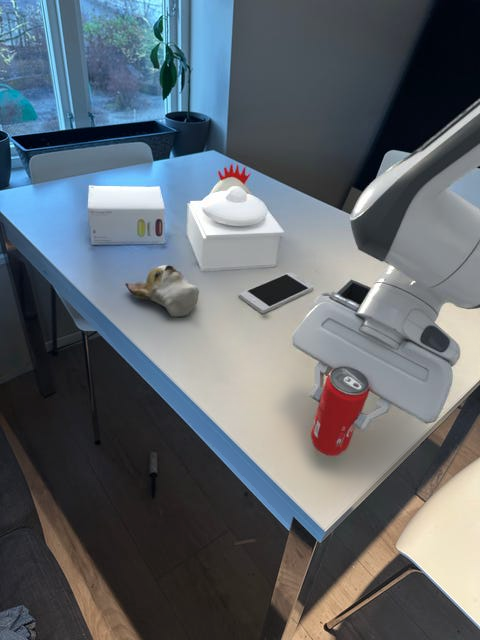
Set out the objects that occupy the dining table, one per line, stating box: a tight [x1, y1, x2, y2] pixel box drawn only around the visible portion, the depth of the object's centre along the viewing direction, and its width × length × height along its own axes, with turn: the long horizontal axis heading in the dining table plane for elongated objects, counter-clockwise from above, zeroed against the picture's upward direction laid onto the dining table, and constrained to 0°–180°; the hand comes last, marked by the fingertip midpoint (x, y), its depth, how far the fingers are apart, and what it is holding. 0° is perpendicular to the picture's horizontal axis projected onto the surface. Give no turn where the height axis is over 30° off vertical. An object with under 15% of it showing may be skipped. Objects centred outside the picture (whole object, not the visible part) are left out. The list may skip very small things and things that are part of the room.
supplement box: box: [87, 184, 166, 246], centre depth 106 cm, size 17×13×9 cm
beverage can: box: [310, 366, 370, 457], centre depth 57 cm, size 5×5×12 cm
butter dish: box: [186, 187, 285, 272], centre depth 102 cm, size 18×18×16 cm
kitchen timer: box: [209, 163, 253, 195], centre depth 115 cm, size 14×14×15 cm
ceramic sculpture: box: [124, 264, 200, 318], centre depth 85 cm, size 11×9×15 cm
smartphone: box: [239, 271, 315, 314], centre depth 93 cm, size 7×15×1 cm, turn 132°
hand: (336, 413), depth 56 cm, fingers closed on beverage can, 5 cm apart
